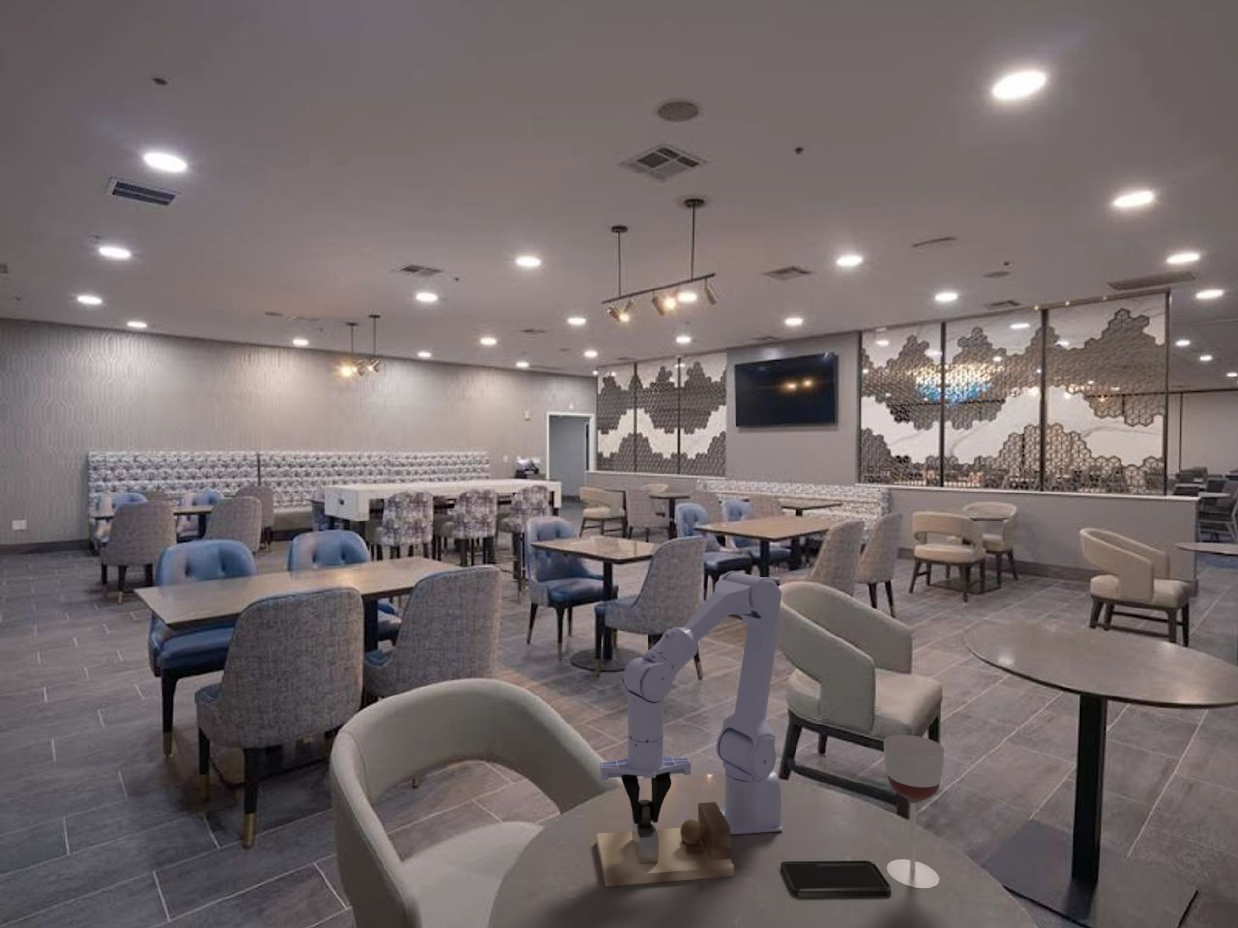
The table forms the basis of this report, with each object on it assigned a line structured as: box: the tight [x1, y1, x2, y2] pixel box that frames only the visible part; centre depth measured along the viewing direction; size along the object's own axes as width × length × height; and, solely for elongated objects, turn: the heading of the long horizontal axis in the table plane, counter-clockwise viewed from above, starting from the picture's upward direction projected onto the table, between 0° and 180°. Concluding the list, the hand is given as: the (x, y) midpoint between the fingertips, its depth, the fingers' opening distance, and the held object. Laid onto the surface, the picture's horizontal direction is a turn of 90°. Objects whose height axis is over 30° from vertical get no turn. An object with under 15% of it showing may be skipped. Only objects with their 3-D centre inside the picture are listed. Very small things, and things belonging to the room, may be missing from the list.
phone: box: [780, 860, 892, 898], centre depth 103 cm, size 8×1×15 cm
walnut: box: [680, 819, 703, 845], centre depth 109 cm, size 4×4×4 cm
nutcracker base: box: [596, 801, 735, 888], centre depth 108 cm, size 20×12×6 cm, turn 98°
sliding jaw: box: [631, 799, 659, 864], centre depth 108 cm, size 3×7×8 cm, turn 8°
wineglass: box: [883, 734, 945, 889], centre depth 105 cm, size 8×9×20 cm
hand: (645, 819), depth 108 cm, fingers closed on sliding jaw, 2 cm apart
